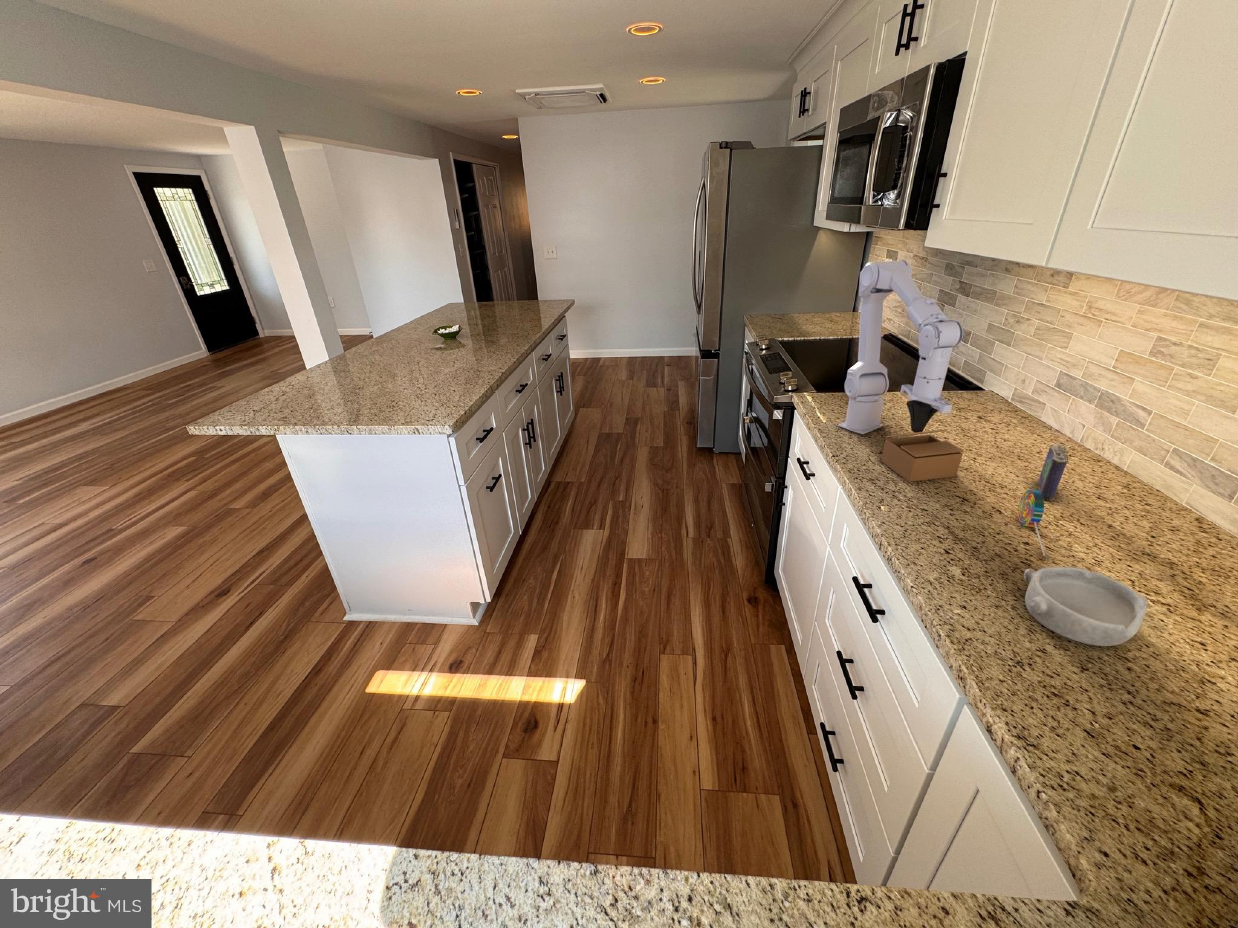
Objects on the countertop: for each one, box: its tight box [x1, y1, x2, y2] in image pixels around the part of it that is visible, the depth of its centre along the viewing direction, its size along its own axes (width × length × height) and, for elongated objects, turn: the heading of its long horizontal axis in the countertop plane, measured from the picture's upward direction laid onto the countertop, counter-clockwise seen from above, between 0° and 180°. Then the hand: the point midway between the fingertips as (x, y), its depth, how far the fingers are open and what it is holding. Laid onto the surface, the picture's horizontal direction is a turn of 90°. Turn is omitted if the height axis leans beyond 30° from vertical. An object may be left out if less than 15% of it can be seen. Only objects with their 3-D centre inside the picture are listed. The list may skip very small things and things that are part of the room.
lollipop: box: [1017, 489, 1046, 557], centre depth 96 cm, size 7×1×15 cm
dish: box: [1023, 566, 1149, 647], centre depth 77 cm, size 14×14×5 cm
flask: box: [1036, 444, 1070, 501], centre depth 108 cm, size 9×3×11 cm, turn 147°
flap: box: [886, 428, 948, 439], centre depth 121 cm, size 5×12×1 cm, turn 98°
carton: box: [880, 434, 964, 483], centre depth 120 cm, size 11×12×7 cm
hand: (916, 431), depth 121 cm, fingers closed
